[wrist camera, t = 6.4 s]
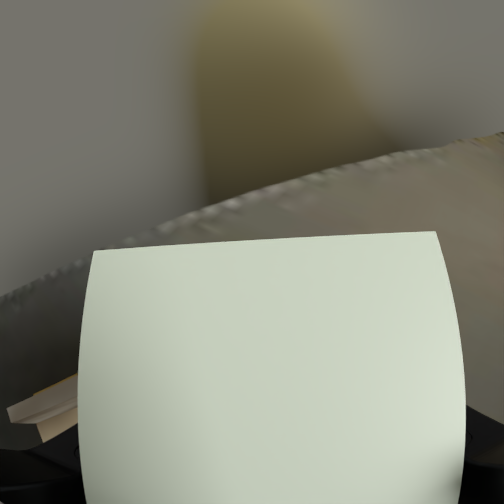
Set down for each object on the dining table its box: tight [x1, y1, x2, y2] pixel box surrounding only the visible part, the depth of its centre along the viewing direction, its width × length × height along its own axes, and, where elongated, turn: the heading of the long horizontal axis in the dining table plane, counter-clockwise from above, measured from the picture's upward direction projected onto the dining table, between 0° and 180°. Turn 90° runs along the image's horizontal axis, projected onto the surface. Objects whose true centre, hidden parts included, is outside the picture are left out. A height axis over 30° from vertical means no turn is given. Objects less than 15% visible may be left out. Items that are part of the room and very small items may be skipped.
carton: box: [78, 231, 466, 504], centre depth 8 cm, size 6×6×11 cm
